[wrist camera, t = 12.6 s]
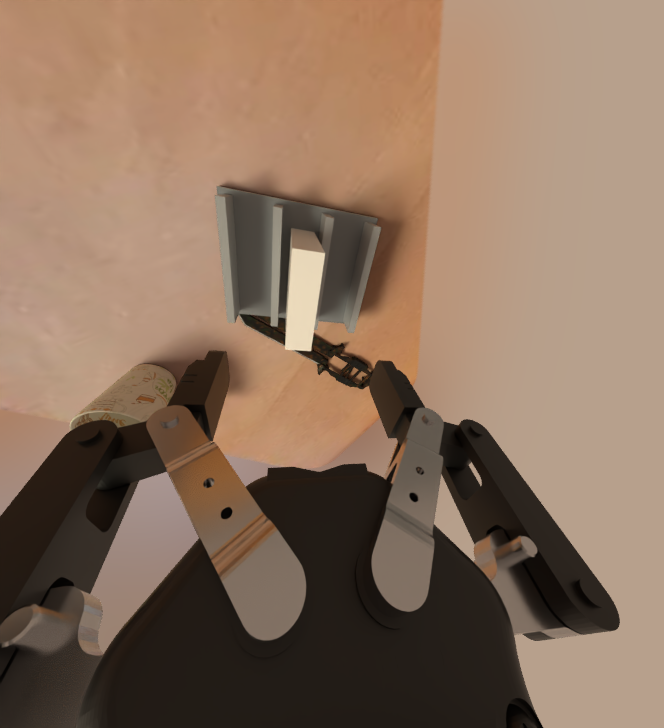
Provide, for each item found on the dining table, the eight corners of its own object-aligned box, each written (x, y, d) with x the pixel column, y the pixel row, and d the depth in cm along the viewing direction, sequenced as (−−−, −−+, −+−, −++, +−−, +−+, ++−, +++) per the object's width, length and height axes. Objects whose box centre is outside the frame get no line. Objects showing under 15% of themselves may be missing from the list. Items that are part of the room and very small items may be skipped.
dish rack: (230, 309, 30) (222, 325, 27) (219, 185, 23) (206, 186, 19) (350, 320, 34) (357, 336, 30) (375, 217, 26) (388, 222, 23)
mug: (124, 348, 32) (69, 402, 24) (220, 378, 37) (201, 431, 29) (116, 388, 35) (67, 447, 28) (204, 411, 41) (184, 465, 33)
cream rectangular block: (286, 306, 30) (285, 349, 22) (291, 227, 25) (291, 248, 17) (305, 308, 31) (310, 351, 23) (314, 231, 25) (325, 253, 18)
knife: (228, 312, 31) (225, 316, 30) (255, 274, 29) (254, 278, 28) (353, 392, 44) (355, 397, 43) (380, 371, 41) (382, 376, 40)
